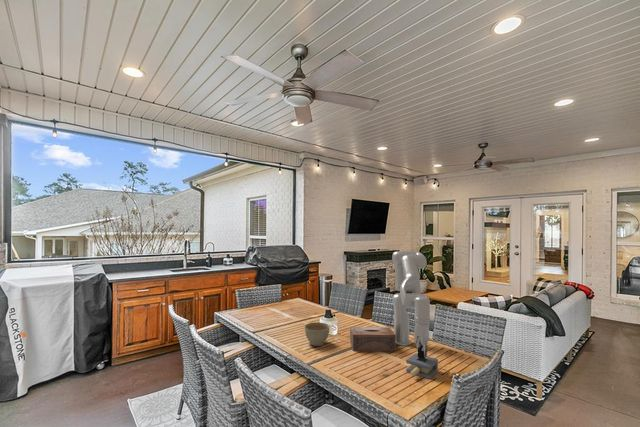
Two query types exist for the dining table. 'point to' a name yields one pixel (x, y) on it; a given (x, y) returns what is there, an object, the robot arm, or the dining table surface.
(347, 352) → the dining table surface
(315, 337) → the planter bowl
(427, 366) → the clevis bracket
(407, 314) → the robot arm
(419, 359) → the steel pin
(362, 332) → the tissue box cover
